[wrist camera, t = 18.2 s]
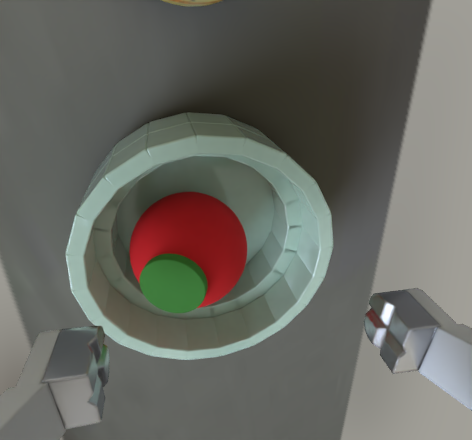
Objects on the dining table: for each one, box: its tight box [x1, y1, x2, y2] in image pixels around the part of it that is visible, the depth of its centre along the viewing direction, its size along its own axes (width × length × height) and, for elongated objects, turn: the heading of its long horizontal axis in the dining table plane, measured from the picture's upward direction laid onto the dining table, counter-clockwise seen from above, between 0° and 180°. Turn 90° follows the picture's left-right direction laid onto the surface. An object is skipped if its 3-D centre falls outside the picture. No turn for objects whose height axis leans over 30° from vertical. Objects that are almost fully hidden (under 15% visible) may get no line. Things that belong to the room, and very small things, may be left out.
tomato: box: [129, 192, 247, 313], centre depth 14 cm, size 5×5×5 cm
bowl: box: [66, 112, 333, 360], centre depth 15 cm, size 10×10×4 cm
